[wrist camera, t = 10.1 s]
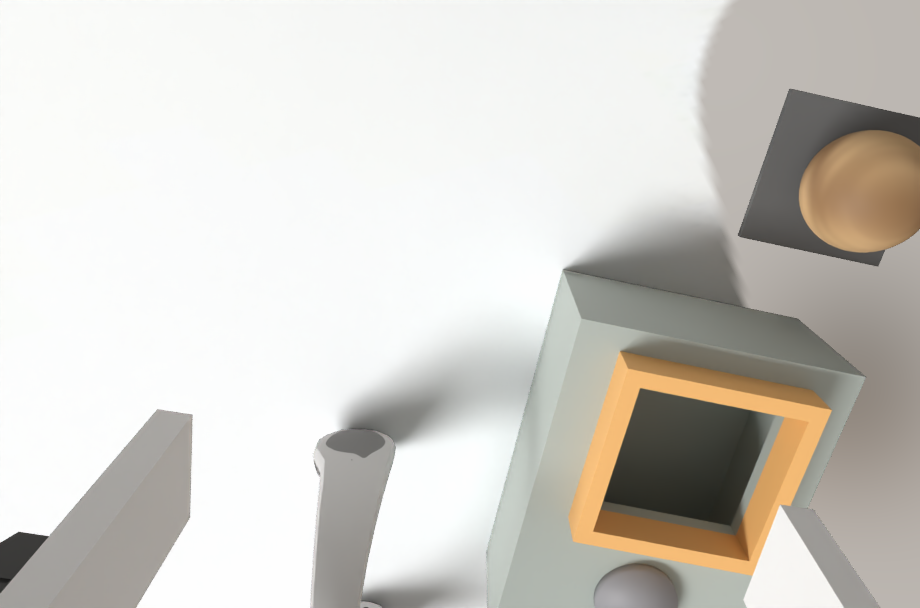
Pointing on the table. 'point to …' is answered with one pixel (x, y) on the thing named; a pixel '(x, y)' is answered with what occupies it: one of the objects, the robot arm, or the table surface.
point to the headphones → (347, 513)
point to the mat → (789, 153)
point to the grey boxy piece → (660, 449)
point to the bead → (863, 191)
